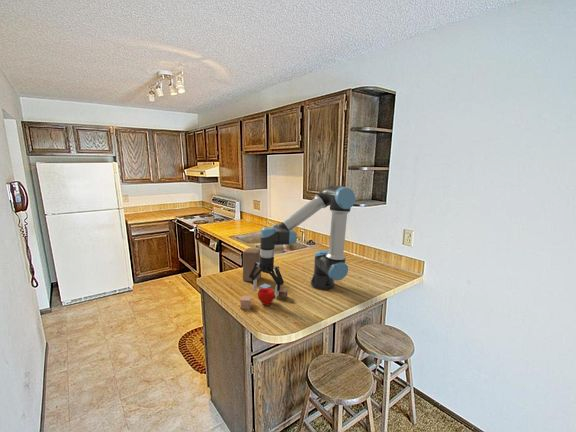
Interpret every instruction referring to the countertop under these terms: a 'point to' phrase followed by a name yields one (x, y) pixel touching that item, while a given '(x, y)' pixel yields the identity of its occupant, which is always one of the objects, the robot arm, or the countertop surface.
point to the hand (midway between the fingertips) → (265, 293)
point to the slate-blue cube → (264, 286)
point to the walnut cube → (282, 294)
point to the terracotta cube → (246, 302)
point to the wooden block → (250, 263)
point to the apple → (266, 295)
